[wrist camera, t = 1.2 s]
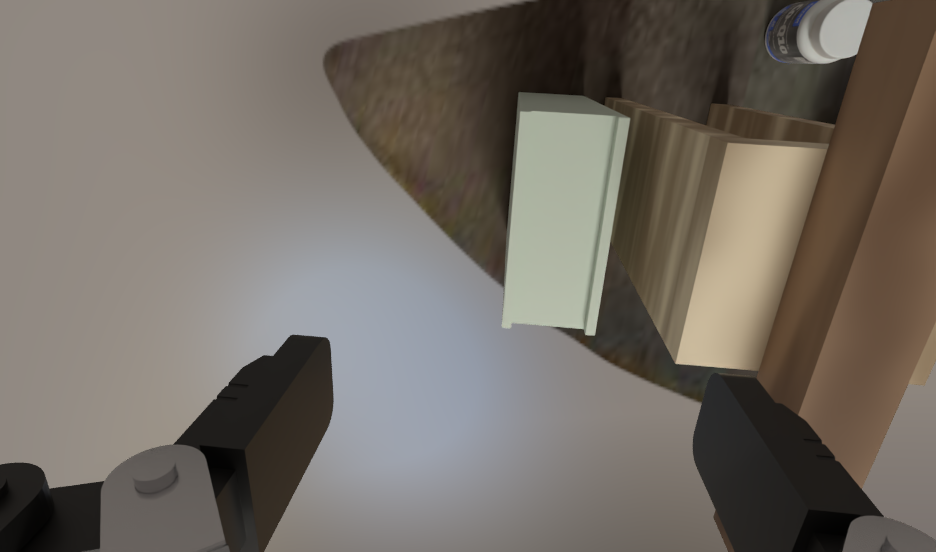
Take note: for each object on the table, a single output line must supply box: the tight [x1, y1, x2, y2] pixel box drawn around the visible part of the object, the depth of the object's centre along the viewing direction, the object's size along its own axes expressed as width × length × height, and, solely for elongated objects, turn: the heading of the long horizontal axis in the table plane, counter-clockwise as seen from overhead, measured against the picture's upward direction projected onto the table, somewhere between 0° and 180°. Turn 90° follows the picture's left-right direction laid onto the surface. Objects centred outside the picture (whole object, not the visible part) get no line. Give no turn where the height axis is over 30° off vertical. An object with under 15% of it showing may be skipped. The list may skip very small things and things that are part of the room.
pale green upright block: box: [502, 92, 630, 336], centre depth 41 cm, size 6×14×21 cm, turn 177°
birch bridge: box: [604, 97, 936, 385], centre depth 36 cm, size 11×10×30 cm
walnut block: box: [714, 0, 936, 552], centre depth 21 cm, size 4×24×4 cm, turn 177°
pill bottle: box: [765, 0, 873, 64], centre depth 41 cm, size 5×5×8 cm
